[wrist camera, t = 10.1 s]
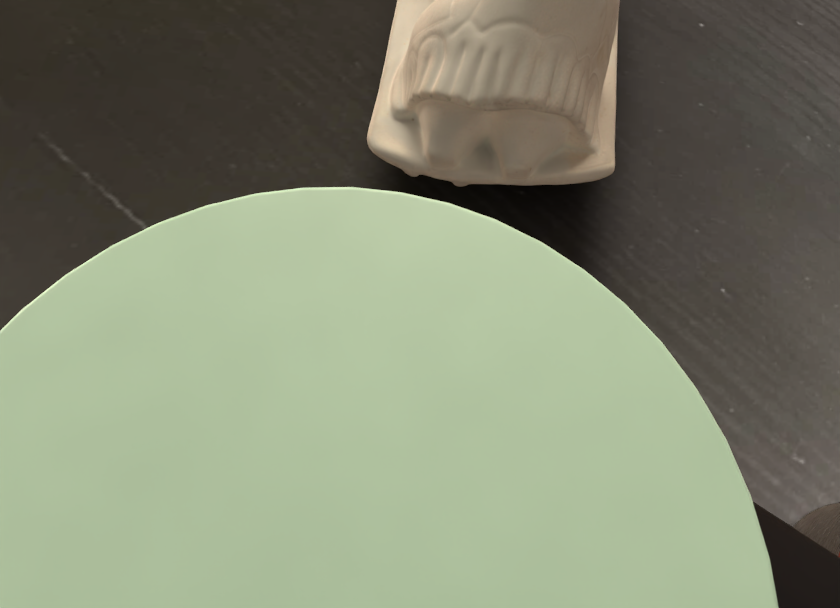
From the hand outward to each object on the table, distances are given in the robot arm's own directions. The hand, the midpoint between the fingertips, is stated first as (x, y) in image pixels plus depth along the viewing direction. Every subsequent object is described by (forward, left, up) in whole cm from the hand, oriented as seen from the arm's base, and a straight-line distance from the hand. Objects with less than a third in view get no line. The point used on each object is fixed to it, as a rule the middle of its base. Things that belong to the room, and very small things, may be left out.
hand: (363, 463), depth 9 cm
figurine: (+16, -8, -13) cm, 22 cm away
